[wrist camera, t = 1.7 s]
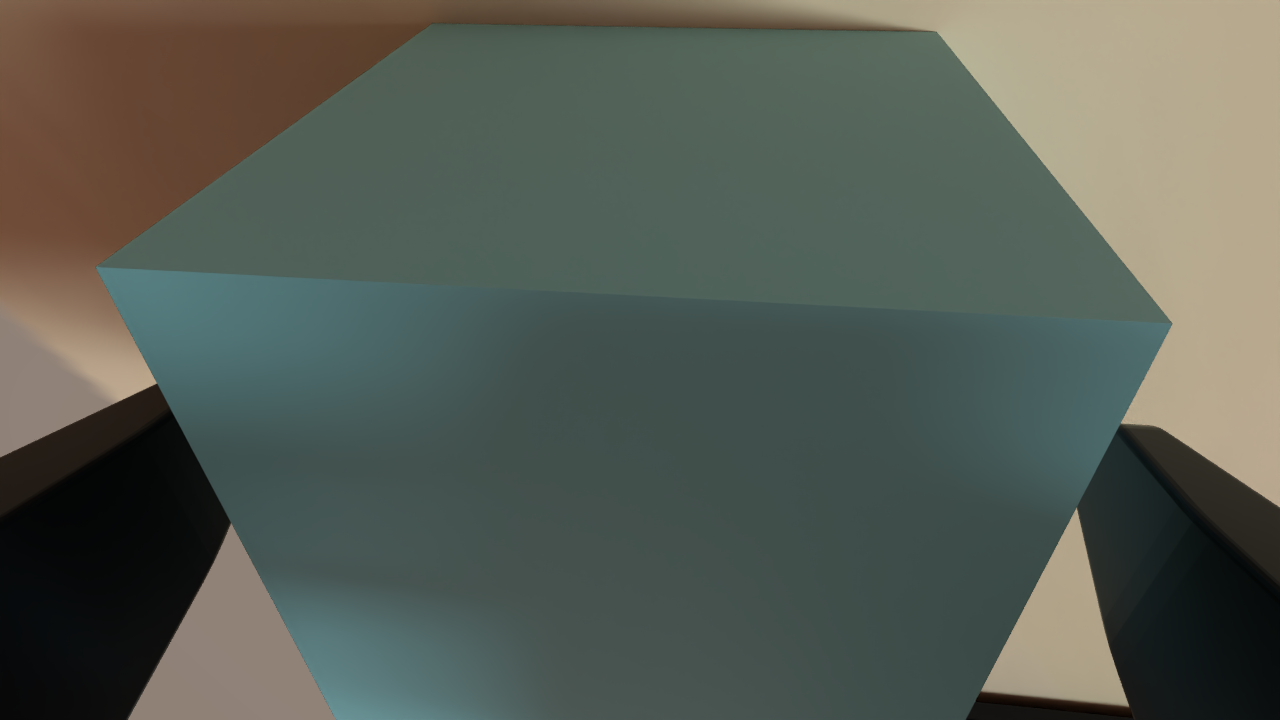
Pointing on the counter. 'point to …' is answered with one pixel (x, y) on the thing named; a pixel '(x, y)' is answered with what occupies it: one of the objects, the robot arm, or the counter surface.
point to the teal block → (644, 373)
